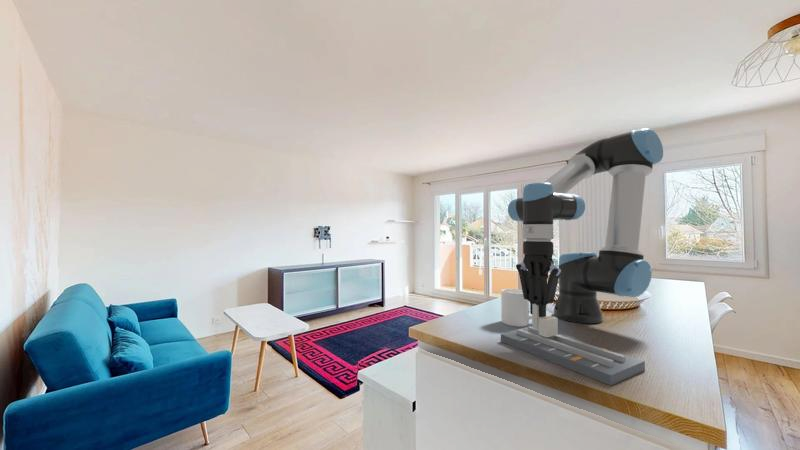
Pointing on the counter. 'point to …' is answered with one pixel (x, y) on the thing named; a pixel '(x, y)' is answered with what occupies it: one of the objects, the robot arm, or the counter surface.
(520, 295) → the mug
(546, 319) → the fader
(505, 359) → the counter surface
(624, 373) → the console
